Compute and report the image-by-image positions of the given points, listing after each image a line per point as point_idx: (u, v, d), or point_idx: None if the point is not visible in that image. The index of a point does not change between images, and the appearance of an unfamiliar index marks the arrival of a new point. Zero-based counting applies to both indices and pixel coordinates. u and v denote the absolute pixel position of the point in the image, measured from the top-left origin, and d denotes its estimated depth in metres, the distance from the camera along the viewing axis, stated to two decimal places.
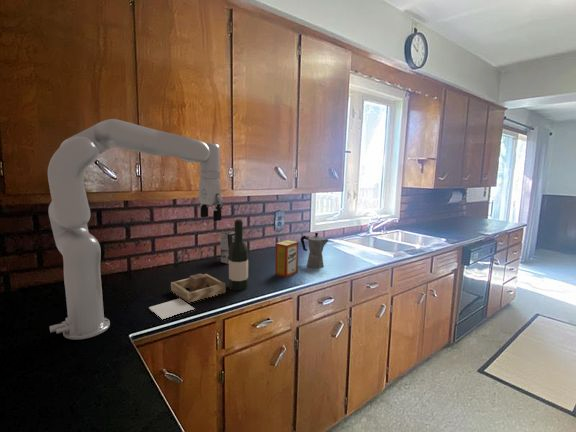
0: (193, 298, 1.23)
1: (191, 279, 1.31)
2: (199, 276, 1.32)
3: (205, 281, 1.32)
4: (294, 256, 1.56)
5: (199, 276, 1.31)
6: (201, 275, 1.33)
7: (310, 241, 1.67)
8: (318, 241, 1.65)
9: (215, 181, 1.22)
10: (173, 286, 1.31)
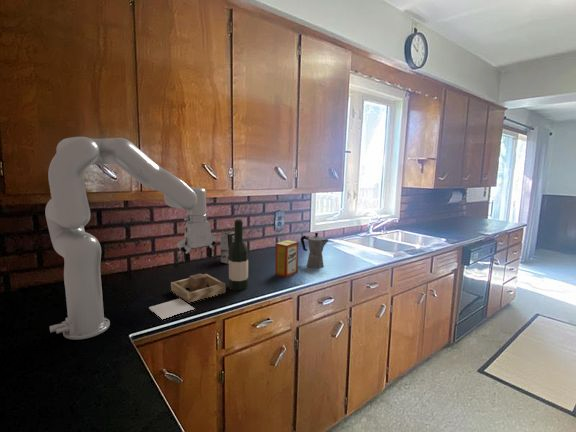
0: (193, 298, 1.23)
1: (191, 279, 1.31)
2: (199, 276, 1.32)
3: (205, 281, 1.32)
4: (294, 256, 1.56)
5: (199, 276, 1.31)
6: (201, 275, 1.33)
7: (310, 241, 1.67)
8: (318, 241, 1.65)
9: None
10: (173, 286, 1.31)
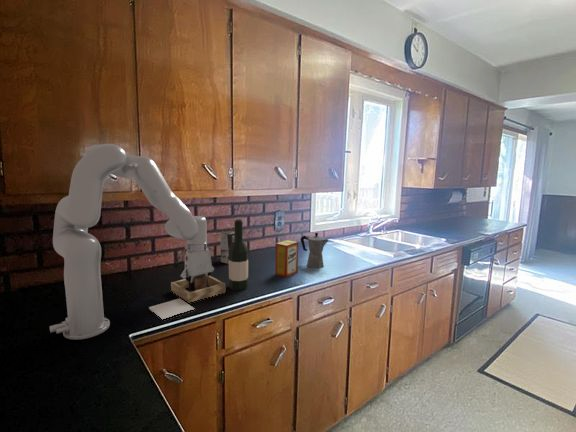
0: (193, 298, 1.23)
1: None
2: (199, 276, 1.32)
3: (205, 281, 1.32)
4: (294, 256, 1.56)
5: (199, 276, 1.31)
6: (201, 275, 1.33)
7: (310, 241, 1.67)
8: (318, 241, 1.65)
9: None
10: (173, 286, 1.31)
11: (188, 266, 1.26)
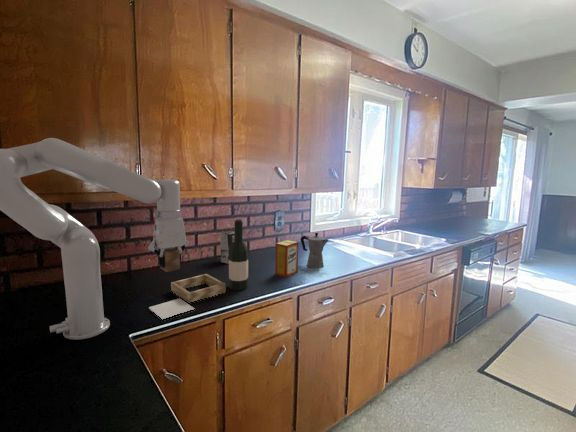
0: (193, 298, 1.23)
1: None
2: (170, 249, 1.13)
3: (178, 255, 1.13)
4: (294, 256, 1.56)
5: (171, 250, 1.13)
6: (173, 249, 1.14)
7: (310, 241, 1.67)
8: (318, 241, 1.65)
9: None
10: (173, 286, 1.31)
11: (157, 236, 1.08)
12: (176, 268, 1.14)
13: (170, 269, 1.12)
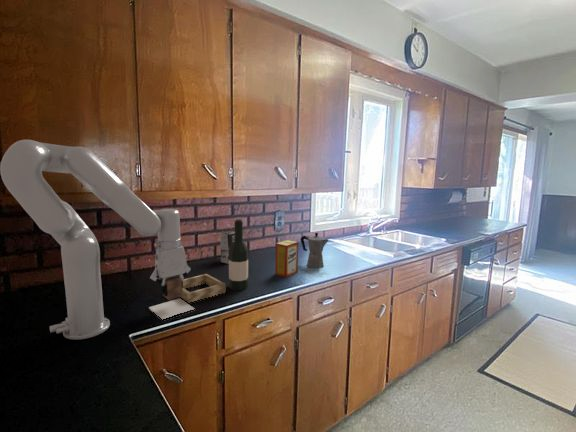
0: (193, 298, 1.23)
1: None
2: (172, 277, 1.15)
3: (180, 283, 1.15)
4: (294, 256, 1.56)
5: (173, 278, 1.14)
6: (175, 276, 1.16)
7: (310, 241, 1.67)
8: (318, 241, 1.65)
9: None
10: None
11: (158, 266, 1.09)
12: (178, 295, 1.15)
13: (172, 297, 1.14)
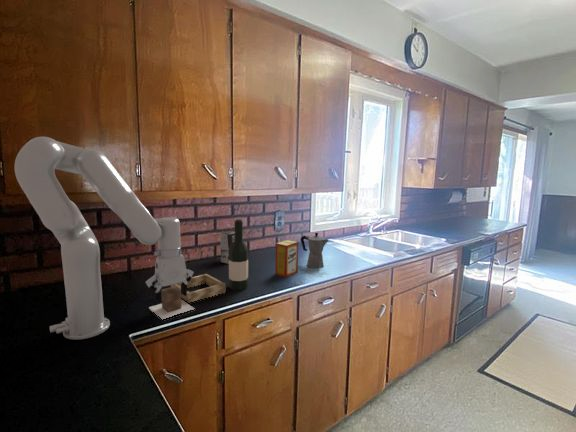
0: (193, 298, 1.23)
1: (163, 293, 1.15)
2: (172, 290, 1.16)
3: (179, 295, 1.16)
4: (294, 256, 1.56)
5: (172, 290, 1.15)
6: (175, 288, 1.17)
7: (310, 241, 1.67)
8: (318, 241, 1.65)
9: None
10: None
11: (158, 275, 1.10)
12: (178, 308, 1.16)
13: (172, 309, 1.14)
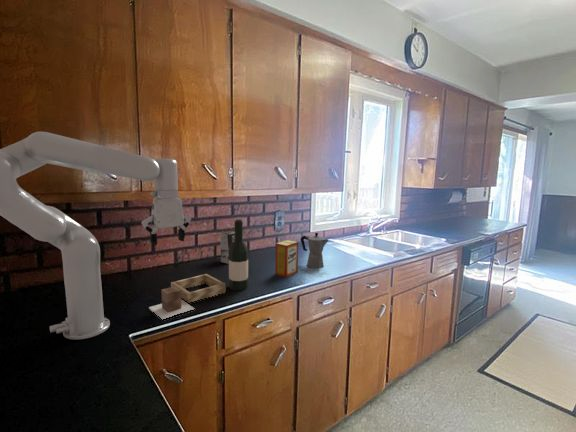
0: (193, 298, 1.23)
1: (163, 293, 1.15)
2: (172, 290, 1.16)
3: (179, 295, 1.16)
4: (294, 256, 1.56)
5: (172, 290, 1.15)
6: (175, 288, 1.17)
7: (310, 241, 1.67)
8: (318, 241, 1.65)
9: None
10: None
11: (154, 215, 1.08)
12: (178, 308, 1.16)
13: (172, 309, 1.14)
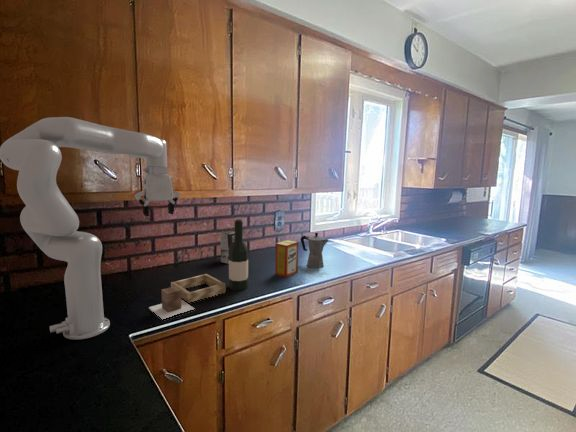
0: (193, 298, 1.23)
1: (163, 293, 1.15)
2: (172, 290, 1.16)
3: (179, 295, 1.16)
4: (294, 256, 1.56)
5: (172, 290, 1.15)
6: (175, 288, 1.17)
7: (310, 241, 1.67)
8: (318, 241, 1.65)
9: None
10: None
11: (146, 189, 1.21)
12: (178, 308, 1.16)
13: (172, 309, 1.14)
